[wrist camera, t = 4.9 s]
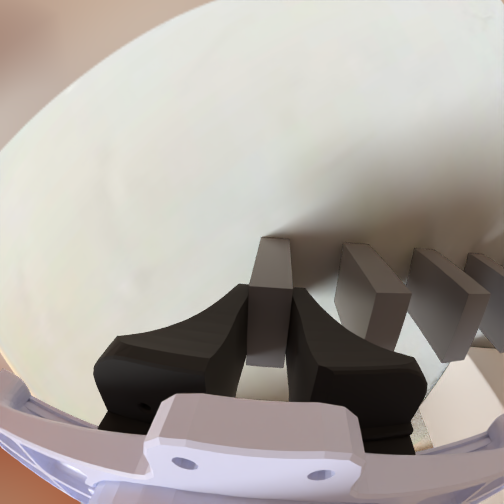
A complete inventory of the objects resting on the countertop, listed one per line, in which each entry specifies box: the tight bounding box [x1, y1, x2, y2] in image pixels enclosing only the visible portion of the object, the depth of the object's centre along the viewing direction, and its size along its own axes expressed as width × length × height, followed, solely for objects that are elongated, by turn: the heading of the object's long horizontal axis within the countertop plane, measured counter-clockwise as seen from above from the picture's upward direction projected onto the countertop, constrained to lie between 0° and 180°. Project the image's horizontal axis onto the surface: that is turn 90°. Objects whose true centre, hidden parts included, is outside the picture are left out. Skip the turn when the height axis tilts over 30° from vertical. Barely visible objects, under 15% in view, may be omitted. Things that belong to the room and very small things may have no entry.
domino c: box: [406, 248, 491, 363], centre depth 12 cm, size 4×2×6 cm, turn 178°
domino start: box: [246, 237, 293, 368], centre depth 13 cm, size 4×2×6 cm, turn 178°
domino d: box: [464, 253, 504, 353], centre depth 12 cm, size 4×2×6 cm, turn 178°
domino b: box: [334, 242, 412, 352], centre depth 13 cm, size 4×2×6 cm, turn 178°
